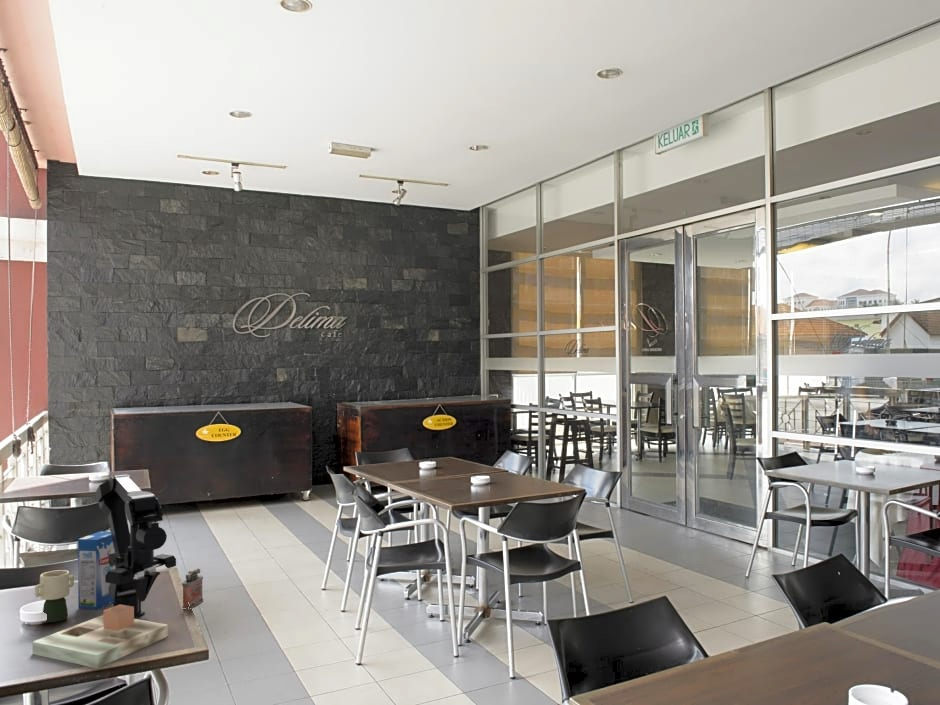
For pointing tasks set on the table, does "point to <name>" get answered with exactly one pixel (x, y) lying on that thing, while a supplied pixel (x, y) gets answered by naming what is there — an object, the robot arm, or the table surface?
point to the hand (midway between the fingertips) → (142, 601)
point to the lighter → (192, 589)
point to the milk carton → (94, 570)
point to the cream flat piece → (98, 642)
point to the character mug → (54, 593)
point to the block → (118, 617)
